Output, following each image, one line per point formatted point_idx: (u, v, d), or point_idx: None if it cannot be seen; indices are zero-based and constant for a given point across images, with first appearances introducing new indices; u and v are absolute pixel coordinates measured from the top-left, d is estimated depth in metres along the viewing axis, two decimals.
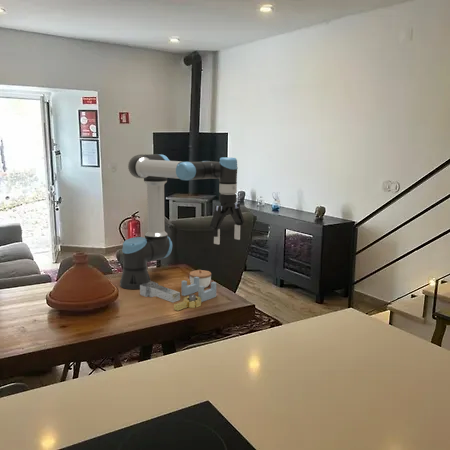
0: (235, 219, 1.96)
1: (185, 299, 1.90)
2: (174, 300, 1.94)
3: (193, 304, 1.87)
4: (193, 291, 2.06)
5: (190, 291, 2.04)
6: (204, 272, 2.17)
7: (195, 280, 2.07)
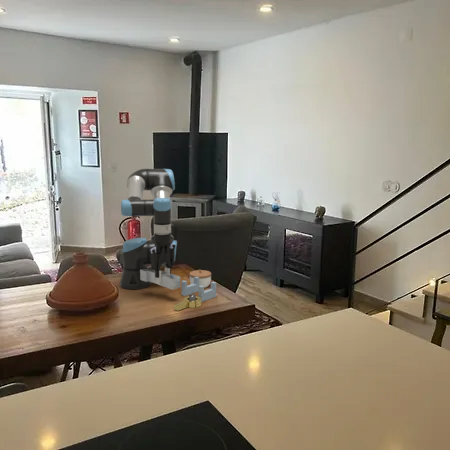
0: (166, 260, 2.00)
1: (185, 299, 1.90)
2: (174, 284, 1.93)
3: (193, 304, 1.87)
4: (193, 291, 2.06)
5: (190, 291, 2.04)
6: (204, 272, 2.17)
7: (195, 280, 2.07)
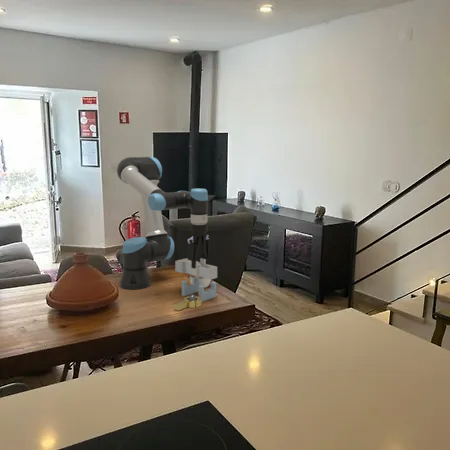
0: (202, 251, 2.00)
1: (185, 299, 1.90)
2: (212, 274, 1.93)
3: (193, 304, 1.87)
4: (193, 291, 2.06)
5: (190, 291, 2.04)
6: None
7: (195, 280, 2.07)
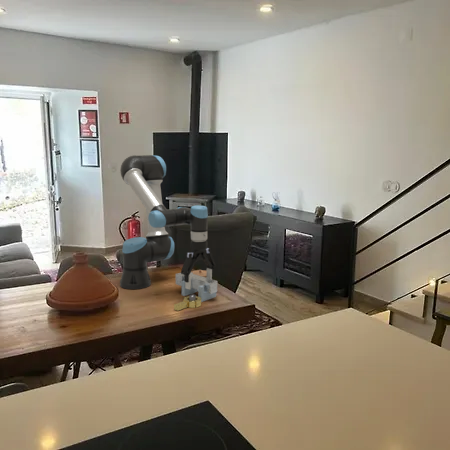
0: (207, 263, 2.04)
1: (185, 299, 1.90)
2: (212, 289, 1.94)
3: (193, 304, 1.87)
4: (193, 291, 2.06)
5: (190, 291, 2.04)
6: (204, 272, 2.17)
7: None
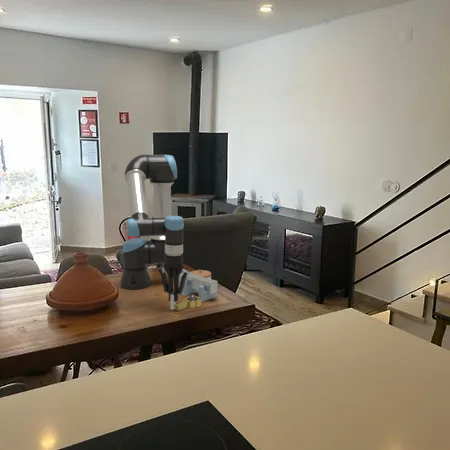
0: None
1: (185, 299, 1.90)
2: (212, 289, 1.94)
3: (193, 304, 1.87)
4: (193, 291, 2.06)
5: (190, 291, 2.04)
6: (204, 272, 2.17)
7: None
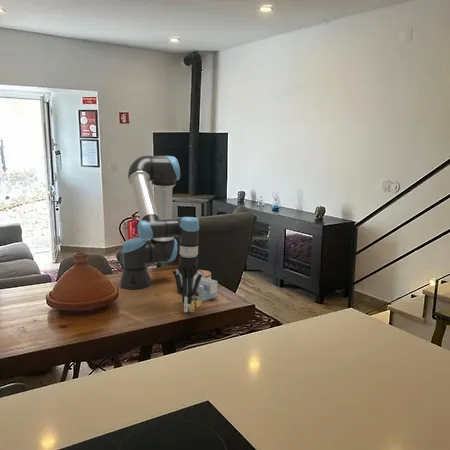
0: None
1: None
2: (212, 289, 1.94)
3: (199, 303, 1.89)
4: None
5: None
6: (204, 272, 2.17)
7: None
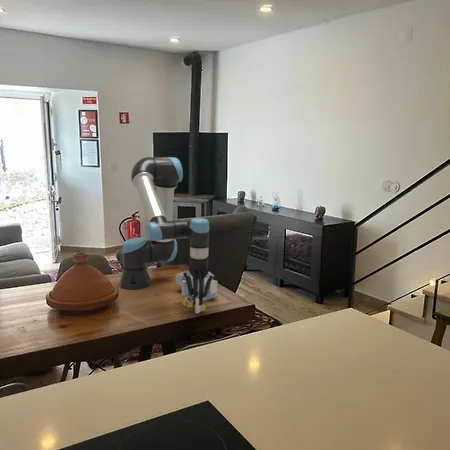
0: None
1: (191, 301, 1.88)
2: (212, 289, 1.94)
3: None
4: None
5: None
6: None
7: None
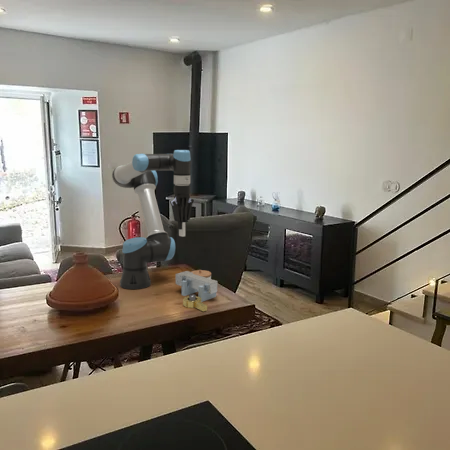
0: (183, 213, 2.01)
1: (192, 301, 1.88)
2: (212, 289, 1.94)
3: None
4: (193, 291, 2.06)
5: (190, 291, 2.04)
6: (204, 272, 2.17)
7: None
